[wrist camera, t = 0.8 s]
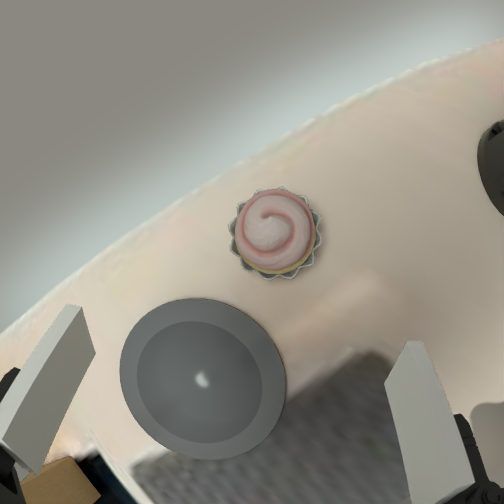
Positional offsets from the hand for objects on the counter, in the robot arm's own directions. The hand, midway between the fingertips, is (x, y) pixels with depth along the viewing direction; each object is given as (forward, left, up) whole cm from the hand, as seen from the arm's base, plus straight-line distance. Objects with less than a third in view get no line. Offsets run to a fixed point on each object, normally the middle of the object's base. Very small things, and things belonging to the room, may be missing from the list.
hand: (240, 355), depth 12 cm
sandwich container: (+37, +30, -24) cm, 53 cm away
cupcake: (-1, -8, -24) cm, 25 cm away
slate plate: (+9, +8, -23) cm, 26 cm away
